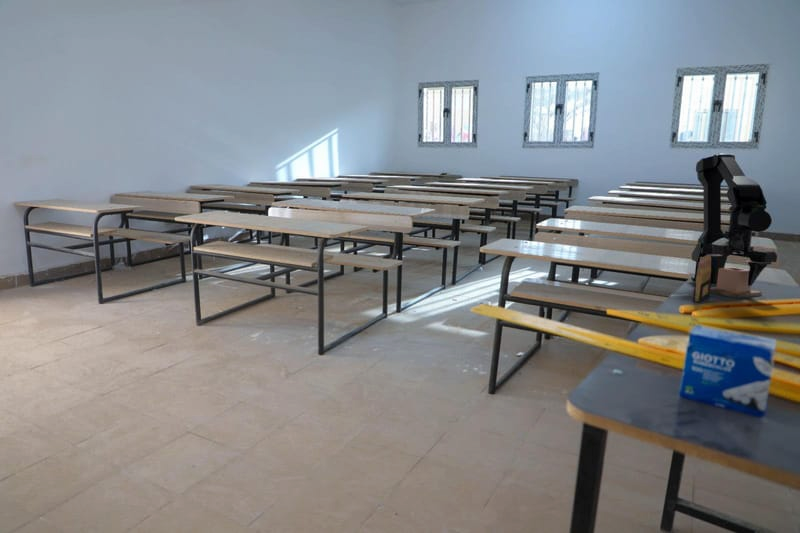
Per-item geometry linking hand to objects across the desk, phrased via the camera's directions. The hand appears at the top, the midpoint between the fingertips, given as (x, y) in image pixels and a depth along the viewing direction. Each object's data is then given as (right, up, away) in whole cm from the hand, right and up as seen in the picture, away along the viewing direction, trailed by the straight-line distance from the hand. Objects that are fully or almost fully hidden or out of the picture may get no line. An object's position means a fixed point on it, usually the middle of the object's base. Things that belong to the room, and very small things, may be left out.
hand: (734, 282), depth 157 cm
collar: (0, -2, 0) cm, 2 cm away
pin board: (0, -3, +1) cm, 3 cm away
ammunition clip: (-13, -4, -7) cm, 16 cm away
